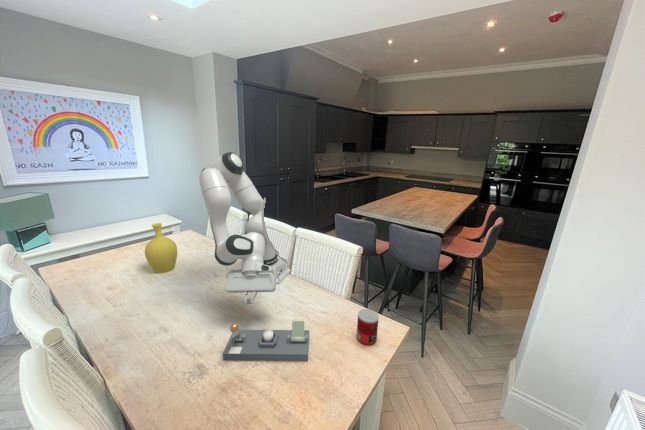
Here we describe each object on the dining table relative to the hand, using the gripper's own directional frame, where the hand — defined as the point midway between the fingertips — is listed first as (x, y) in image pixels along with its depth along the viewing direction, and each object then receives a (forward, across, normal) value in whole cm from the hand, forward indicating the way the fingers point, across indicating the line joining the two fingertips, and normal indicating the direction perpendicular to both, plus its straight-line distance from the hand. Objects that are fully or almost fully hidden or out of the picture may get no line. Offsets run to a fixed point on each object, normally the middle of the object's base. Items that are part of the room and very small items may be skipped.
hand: (248, 303), depth 104 cm
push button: (+13, +9, -1) cm, 16 cm away
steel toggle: (+12, -2, -1) cm, 13 cm away
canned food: (+14, +47, +6) cm, 49 cm away
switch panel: (+16, +9, +2) cm, 18 cm away
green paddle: (+13, +20, -1) cm, 24 cm away
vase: (-28, -63, +46) cm, 83 cm away
